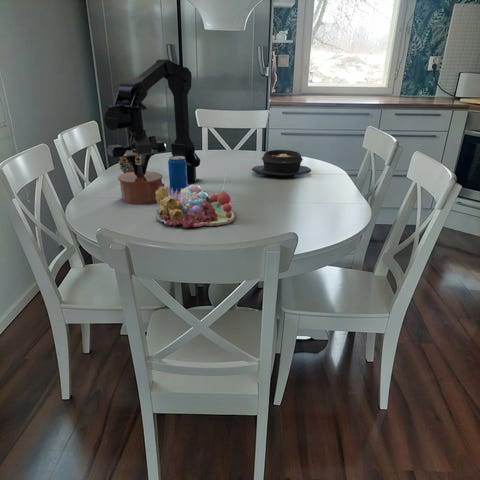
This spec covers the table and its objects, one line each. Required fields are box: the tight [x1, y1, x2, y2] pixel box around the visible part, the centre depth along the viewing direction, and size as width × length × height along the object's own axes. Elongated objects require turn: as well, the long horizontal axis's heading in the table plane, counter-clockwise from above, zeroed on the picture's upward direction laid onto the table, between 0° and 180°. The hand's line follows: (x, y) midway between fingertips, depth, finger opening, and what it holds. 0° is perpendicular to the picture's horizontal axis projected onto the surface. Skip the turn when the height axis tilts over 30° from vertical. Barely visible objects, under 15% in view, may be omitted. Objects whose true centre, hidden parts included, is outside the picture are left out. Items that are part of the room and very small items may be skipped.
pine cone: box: [118, 152, 141, 174], centre depth 186 cm, size 22×10×10 cm, turn 177°
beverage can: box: [167, 155, 189, 194], centre depth 164 cm, size 6×6×12 cm
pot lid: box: [117, 163, 163, 184], centre depth 155 cm, size 15×15×5 cm
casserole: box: [251, 149, 313, 178], centre depth 188 cm, size 25×19×8 cm
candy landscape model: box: [155, 183, 235, 229], centre depth 141 cm, size 25×24×9 cm
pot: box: [119, 179, 165, 205], centre depth 158 cm, size 14×19×7 cm
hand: (140, 174), depth 156 cm, fingers closed on pot lid, 3 cm apart
